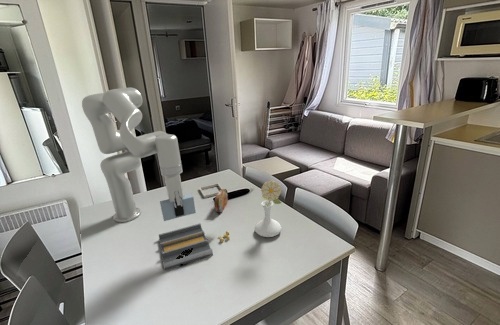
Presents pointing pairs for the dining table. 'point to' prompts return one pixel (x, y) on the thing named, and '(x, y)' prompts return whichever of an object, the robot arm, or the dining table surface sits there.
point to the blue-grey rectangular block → (169, 207)
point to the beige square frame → (209, 187)
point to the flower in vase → (269, 225)
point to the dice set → (224, 237)
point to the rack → (184, 246)
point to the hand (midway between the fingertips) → (179, 212)
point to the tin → (221, 200)
